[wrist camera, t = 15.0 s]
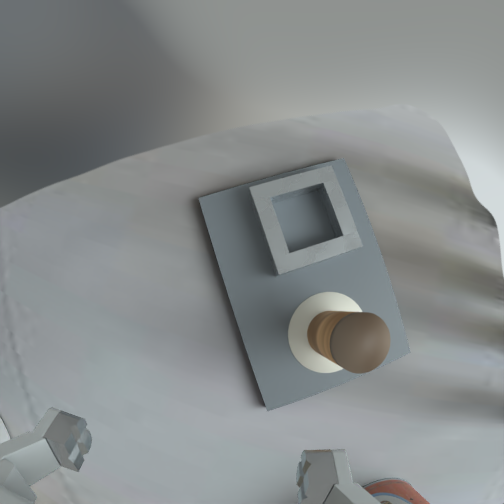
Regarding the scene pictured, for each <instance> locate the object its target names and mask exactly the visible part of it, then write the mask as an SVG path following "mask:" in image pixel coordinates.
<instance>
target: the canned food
mask: <svg viewBox="0 0 504 504" xmlns="http://www.w3.org/2000/svg"><path fill="white" fill-rule="evenodd" d="M362 488H364V489H365V490H366V491H367V492H368V493H369V494H371V495H372V496H373V497H374V498H375V499H376V500H378V501H379V502H380V503H381V504H430V503H429V502H427V501H426V500H425V499H424V498H423V497H422V496H421V495H420V494H419V493H418V492H417V491H416V490H415V489H414V488H413V487H412V486H411V484H409V483H408V482H407V481H405V480H402V479H398V478H389V479H382V480H379V481H375V482H373V483H370V484H368V485H366V486H364V487H362Z"/></svg>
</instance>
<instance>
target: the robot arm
mask: <svg viewBox="0 0 504 504" xmlns="http://www.w3.org/2000/svg"><path fill="white" fill-rule="evenodd" d="M86 426H87V423H86V420H85V419H84V418H81V417H78V416H75V415H72V414H69V413H67V412H64V411H61V410H58V409H55V408H53V407H52V408H50V409H48V411H47V412H46V413H45V415H44V416H43V418H42V419H41V420H40V422H39V423H38V425H37V426H36V428H35V429H34V430H33V432H27V433H25V434H22V435H20V436H18V437H15V438H13V439H10V437H9V434H8V432H7V429H6V427H5V425H4V423H3V421H2V419H1V418H0V504H35V503H34V502H35V500H36V498H37V496H36V494H35V493H34V492H33V490H32V489H31V488H30V486H31V485H33V484H34V483H36V482H38V481H39V480H41V479H42V478H44V477H46V476H47V475H49V474H50V473H52V472H53V471H55V470H56V469H58V468H59V467H60V466H63V467H65V468H68V469H71V470H74V471H77V472H79V470H80V468H81V466H82V464H83V462H84V458H83V455H84V454H86V453H88V452H89V450H90V447H91V443H92V437H91V433H90V431H89V430H88V429H87V428H86ZM296 480H297V485H298V486H299V487H300V489H299V491H298V494H297V495H298V504H381V503H380V502H379V501H378V500H376V499H375V498H374V497H373V496H372V495H371V494H369V493H368V492H367V491H366V490H365V489H364V488H362V487H361V486H360V485H359V484H358V483H353V480H352V475H351V471H350V467H349V462H348V458H347V454H346V451H345V450H344V449H337V450H330V449H329V450H304V451H303V452H302V455H301V462H299V464H298V467H297V473H296Z"/></svg>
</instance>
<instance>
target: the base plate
mask: <svg viewBox="0 0 504 504" xmlns="http://www.w3.org/2000/svg"><path fill="white" fill-rule="evenodd" d="M327 166H332V168H333V170H334V173H335V175H336V178H337V180H338V182H339V185H340V187H341V190H342V192H343V195H344V197H345V200H346V202H347V205H348V207H349V210H350V213H351V215H352V218H353V220H354V223H355V226H356V228H357V231H358V234H359V237H360V239H361V242H362V245H363V246H362V247H360V248H358V249H356V250H354V251H351V252H348V253H345V254H343V255H340V256H337V257H334V258H331V259H328V260H325V261H322V262H319V263H316V264H313V265H310V266H307V267H304V268H301V269H298V270H295V271H292V272H289V273H286V274H283V275H280V276H277V277H276V276H275V273H274V270H273V267H272V264H271V261H270V258H269V255H268V252H267V249H266V246H265V243H264V240H263V237H262V234H261V231H260V228H259V225H258V222H257V219H256V216H255V213H254V210H253V207H252V204H251V201H250V199H249V187H252V186H256V185H259V184H263V183H266V182H270V181H274V180H277V179H281V178H285V177H288V176H292V175H296V174H300V173H303V172H307V171H311V170H315V169H319V168H323V167H327ZM199 202H200V205H201V208H202V212H203V215H204V218H205V222H206V225H207V229H208V232H209V235H210V238H211V242H212V245H213V248H214V252H215V255H216V258H217V261H218V264H219V268H220V271H221V274H222V277H223V280H224V284H225V287H226V290H227V293H228V296H229V299H230V302H231V305H232V309H233V312H234V315H235V318H236V321H237V324H238V327H239V330H240V333H241V336H242V339H243V342H244V345H245V348H246V351H247V354H248V357H249V360H250V363H251V366H252V369H253V371H254V374H255V377H256V380H257V383H258V386H259V389H260V392H261V394H262V397H263V400H264V403H265V406H266V409H267V411H270V410H273V409H276V408H279V407H282V406H285V405H288V404H291V403H294V402H296V401H299V400H302V399H305V398H307V397H310V396H313V395H316V394H318V393H321V392H323V391H326V390H328V389H331V388H333V387H336V386H338V385H341V384H343V383H346V382H348V381H350V380H353V379H355V378H357V377H360V376H362V375H364V374H366V373H362V374H357V373H352V372H349V371H347V370H345V369H344V368H342V367H340V366H339V365H337V364H335V363H333V362H332V361H330V360H328V359H327V358H325V357H323V356H322V355H320V354H318V353H317V352H315V351H314V350H313V349H312V348H311V346H310V344H309V342H308V338H307V330H308V327H309V324H310V322H311V321H312V319H313V318H314V317H315V316H316V315H318V314H319V313H322V312H324V311H348V312H369V313H373V314H375V315H377V316H379V317H380V318H381V319H382V320H383V321H384V322H385V323H386V325H387V327H388V329H389V332H390V348H389V352H388V354H387V356H386V358H385V359H384V361H383V362H382V363H381V364H380V365H379V366H378V367H377V368H380V367H382V366H384V365H386V364H388V363H390V362H392V361H394V360H396V359H398V358H400V357H402V356H404V355H406V354H408V353H410V348H409V344H408V340H407V337H406V333H405V329H404V325H403V322H402V318H401V315H400V311H399V308H398V304H397V301H396V298H395V294H394V291H393V288H392V285H391V281H390V278H389V275H388V272H387V269H386V266H385V263H384V260H383V257H382V254H381V251H380V248H379V246H378V243H377V240H376V237H375V234H374V232H373V229H372V226H371V224H370V221H369V218H368V216H367V213H366V210H365V208H364V205H363V203H362V200H361V198H360V195H359V193H358V190H357V188H356V186H355V183H354V181H353V178H352V176H351V174H350V171H349V169H348V167H347V164H346V162H345V160H344V158H343V159H338V160H334V161H330V162H326V163H322V164H318V165H314V166H310V167H306V168H302V169H298V170H294V171H291V172H287V173H283V174H279V175H276V176H272V177H268V178H265V179H261V180H258V181H254V182H251V183H247V184H244V185H240V186H237V187H233V188H230V189H227V190H223V191H220V192H217V193H213V194H210V195H207V196H204V197H200V198H199ZM272 205H273V207H274V210H275V213H276V216H277V219H278V221H279V224H280V227H281V230H282V233H283V236H284V239H285V242H286V245H287V247H288V250H289V253H292V252H295V251H298V250H301V249H304V248H307V247H310V246H313V245H316V244H320V243H323V242H326V241H329V240H332V239H335V236H334V233H333V230H332V228H331V225H330V222H329V219H328V217H327V214H326V211H325V209H324V206H323V204H322V201H321V198H320V196H319V193H318V191H316V192H313V193H309V194H305V195H302V196H298V197H295V198H291V199H288V200H284V201H281V202H277V203H274V204H272ZM377 368H375V369H377ZM375 369H374V370H375ZM372 371H373V370H372ZM370 372H371V371H370ZM367 373H369V372H367Z"/></svg>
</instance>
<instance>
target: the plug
mask: <svg viewBox="0 0 504 504" xmlns="http://www.w3.org/2000/svg"><path fill="white" fill-rule="evenodd" d="M307 338H308V342H309V344H310V346H311V348H312V349H313V350H314V351H315V352H317V353H318V354H320V355H322V356H323V357H325V358H327V359H328V360H330V361H332V362H333V363H335V364H337V365H339V366H340V367H342V368H344V369H345V370H347V371H349V372H352V373H357V374H362V373H367V372H370V371H372V370H374V369H375V368H377V367H378V366H379V365H380V364H381V363H382V362H383V361H384V359H385V358H386V356H387V354H388V352H389V348H390V332H389V329H388V327H387V325H386V323H385V322H384V321H383V320H382V319H381V318H380V317H379V316H377V315H375V314H373V313H369V312H348V311H324V312H322V313H319V314H318V315H316V316H315V317H314V318H313V319H312V321H311V322H310V324H309V327H308V330H307Z"/></svg>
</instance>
